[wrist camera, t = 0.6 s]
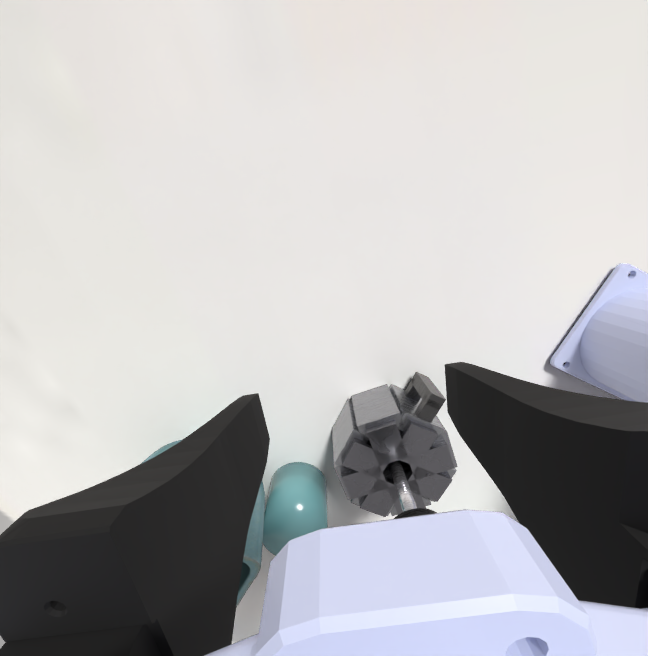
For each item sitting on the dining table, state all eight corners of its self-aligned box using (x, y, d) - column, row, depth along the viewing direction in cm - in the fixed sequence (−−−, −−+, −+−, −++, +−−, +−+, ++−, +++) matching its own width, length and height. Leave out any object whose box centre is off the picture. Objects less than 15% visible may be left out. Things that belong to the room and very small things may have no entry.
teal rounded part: (335, 473, 25) (338, 521, 21) (312, 514, 26) (311, 567, 22) (283, 454, 24) (275, 499, 20) (262, 496, 25) (250, 547, 21)
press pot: (463, 390, 23) (496, 424, 19) (403, 484, 25) (419, 533, 21) (373, 350, 22) (386, 377, 18) (319, 452, 24) (318, 496, 20)
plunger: (425, 454, 20) (468, 542, 14) (403, 488, 21) (436, 585, 15) (385, 438, 20) (412, 522, 14) (364, 473, 20) (381, 567, 15)
